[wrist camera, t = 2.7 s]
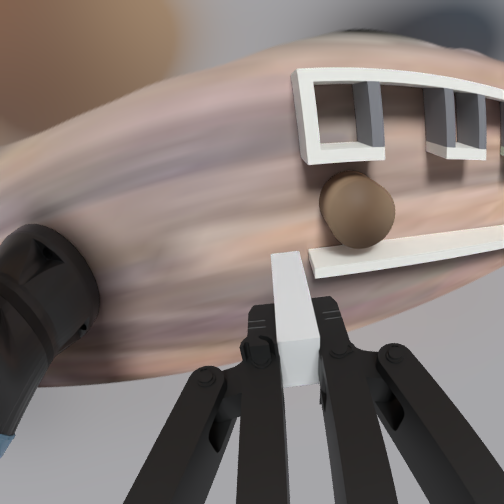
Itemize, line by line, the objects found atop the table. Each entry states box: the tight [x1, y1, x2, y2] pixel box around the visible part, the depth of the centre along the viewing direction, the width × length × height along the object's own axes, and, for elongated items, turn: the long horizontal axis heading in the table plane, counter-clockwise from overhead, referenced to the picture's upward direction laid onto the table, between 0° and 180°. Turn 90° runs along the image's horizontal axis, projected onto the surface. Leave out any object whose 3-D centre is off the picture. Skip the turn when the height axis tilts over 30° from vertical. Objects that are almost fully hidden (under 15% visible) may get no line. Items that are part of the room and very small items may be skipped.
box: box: [291, 68, 504, 279], centre depth 21 cm, size 30×16×4 cm, turn 98°
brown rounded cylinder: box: [319, 171, 395, 249], centre depth 23 cm, size 6×6×4 cm
